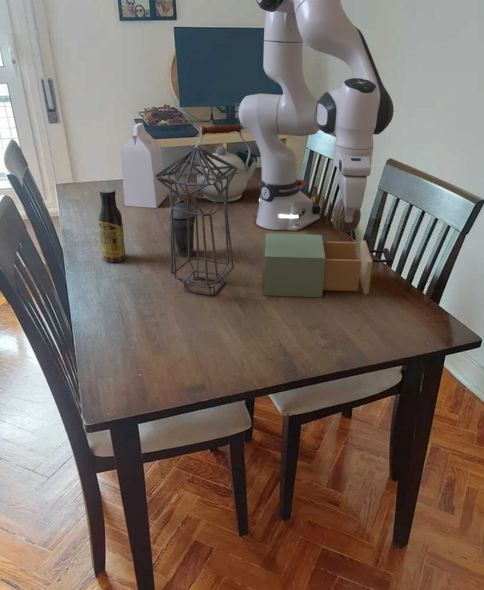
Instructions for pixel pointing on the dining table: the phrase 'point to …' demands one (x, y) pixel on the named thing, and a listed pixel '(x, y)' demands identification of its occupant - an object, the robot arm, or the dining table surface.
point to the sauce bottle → (111, 227)
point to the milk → (142, 170)
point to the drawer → (349, 265)
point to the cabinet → (294, 265)
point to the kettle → (239, 178)
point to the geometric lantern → (177, 166)
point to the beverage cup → (183, 228)
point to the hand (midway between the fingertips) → (346, 215)
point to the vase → (340, 221)
